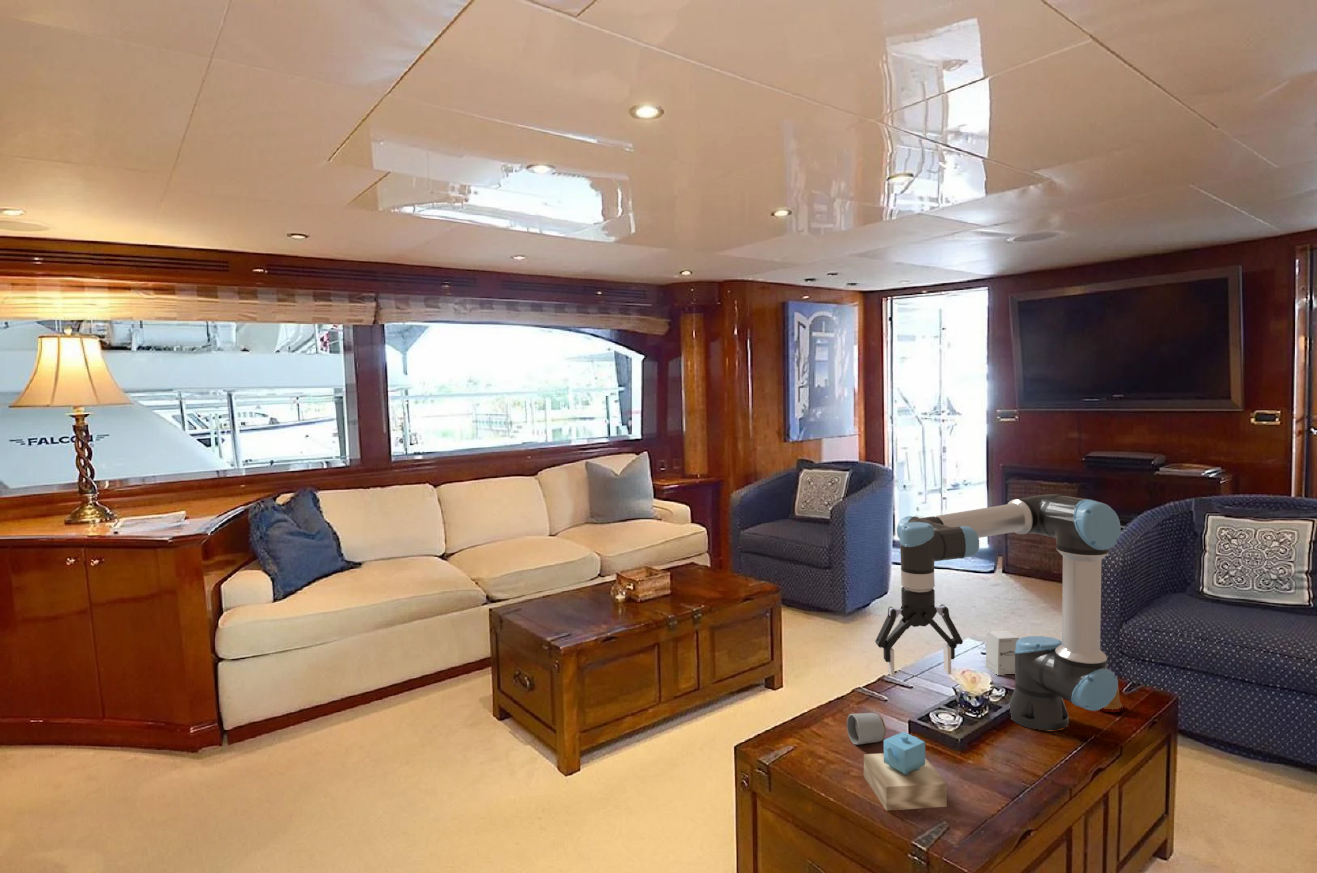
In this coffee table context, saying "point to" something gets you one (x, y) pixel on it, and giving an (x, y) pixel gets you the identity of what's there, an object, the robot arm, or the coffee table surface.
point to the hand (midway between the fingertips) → (919, 673)
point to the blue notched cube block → (904, 752)
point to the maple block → (905, 785)
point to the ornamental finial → (1114, 702)
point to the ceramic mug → (865, 728)
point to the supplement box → (1001, 652)
